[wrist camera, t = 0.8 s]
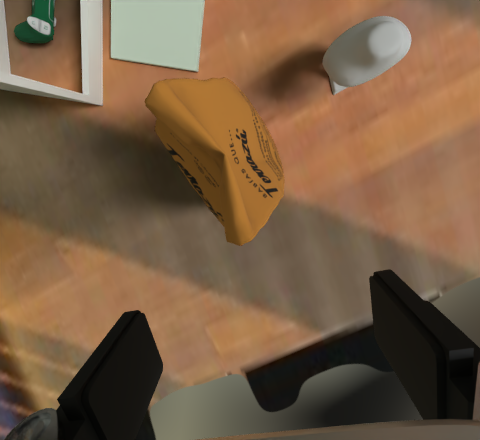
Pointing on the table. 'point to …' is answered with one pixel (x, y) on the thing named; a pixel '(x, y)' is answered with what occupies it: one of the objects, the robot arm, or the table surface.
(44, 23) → the gaming controller
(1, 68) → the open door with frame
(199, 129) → the coffee package
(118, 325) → the robot arm
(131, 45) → the mat
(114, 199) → the table surface
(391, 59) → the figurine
